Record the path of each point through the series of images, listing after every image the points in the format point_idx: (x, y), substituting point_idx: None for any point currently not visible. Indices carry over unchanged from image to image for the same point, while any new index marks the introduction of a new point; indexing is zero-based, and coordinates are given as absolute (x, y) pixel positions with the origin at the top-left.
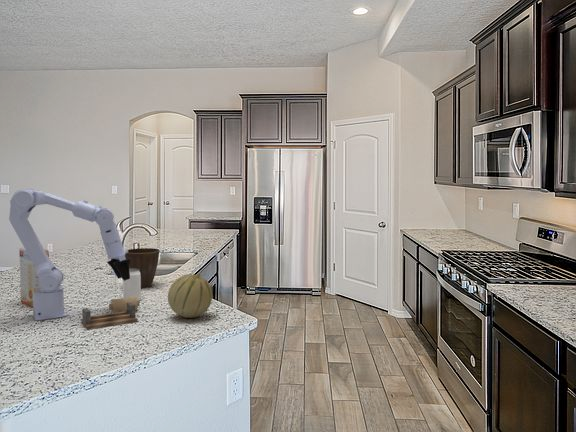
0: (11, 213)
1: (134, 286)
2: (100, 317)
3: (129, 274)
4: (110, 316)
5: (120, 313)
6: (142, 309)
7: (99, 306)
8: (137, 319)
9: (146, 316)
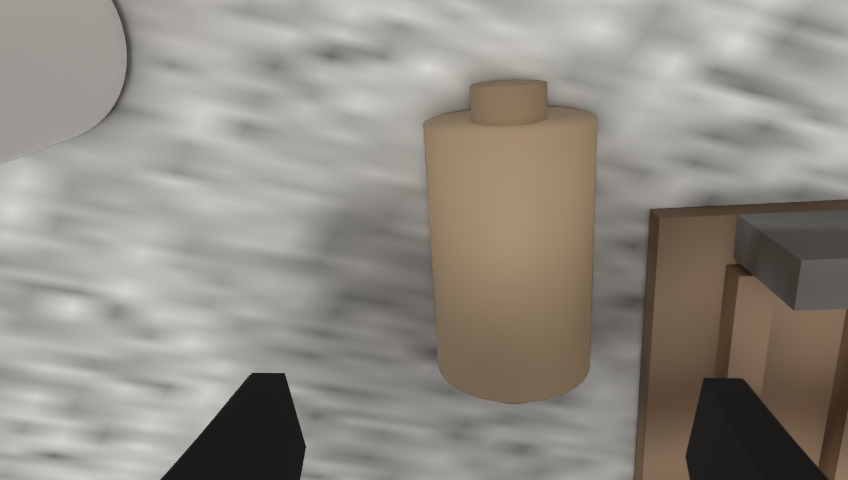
0: None
1: (10, 43)
2: None
3: (796, 443)
4: None
5: (768, 329)
6: (508, 32)
7: (182, 376)
8: None
9: (822, 66)
